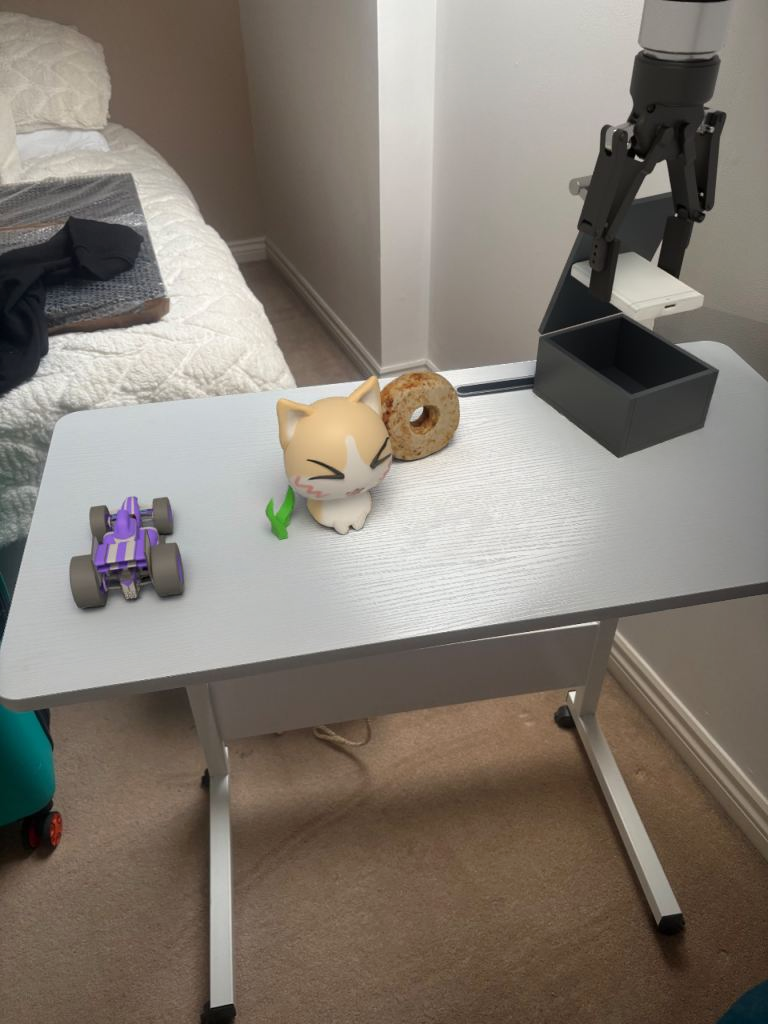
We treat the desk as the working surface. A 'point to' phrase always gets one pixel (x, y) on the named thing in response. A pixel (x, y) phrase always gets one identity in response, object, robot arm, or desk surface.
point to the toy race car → (127, 553)
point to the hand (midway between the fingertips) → (633, 287)
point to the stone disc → (432, 423)
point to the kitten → (333, 457)
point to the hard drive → (644, 288)
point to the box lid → (636, 235)
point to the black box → (623, 383)
